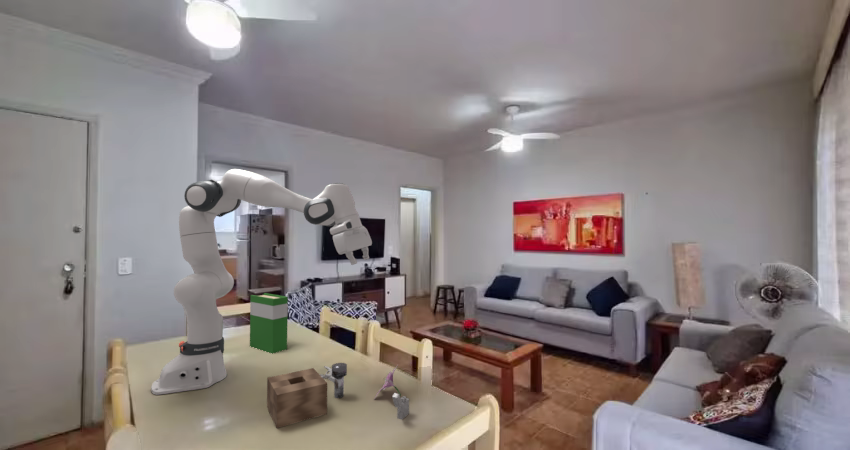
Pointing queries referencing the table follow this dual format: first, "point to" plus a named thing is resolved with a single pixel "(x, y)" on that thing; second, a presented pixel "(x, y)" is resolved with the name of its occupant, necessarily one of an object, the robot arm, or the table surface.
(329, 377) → the grey branched figurine
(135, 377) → the table surface
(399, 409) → the lighter
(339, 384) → the pin
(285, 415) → the block
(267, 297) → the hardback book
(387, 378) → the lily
